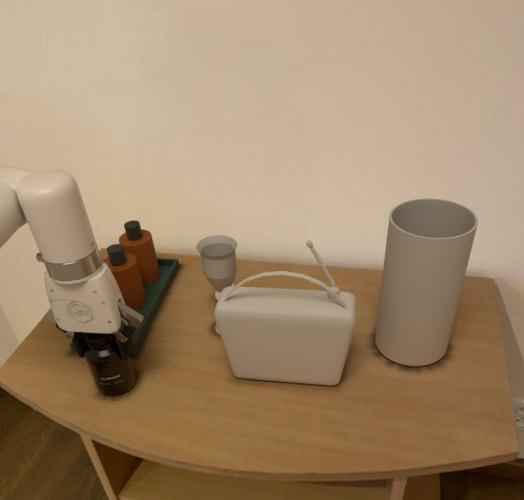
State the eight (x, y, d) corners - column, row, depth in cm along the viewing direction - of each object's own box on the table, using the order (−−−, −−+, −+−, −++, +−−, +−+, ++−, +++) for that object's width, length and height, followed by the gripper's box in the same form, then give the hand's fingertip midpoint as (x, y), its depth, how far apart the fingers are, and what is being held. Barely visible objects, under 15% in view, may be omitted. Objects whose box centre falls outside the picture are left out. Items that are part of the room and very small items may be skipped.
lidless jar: (223, 307, 103) (243, 298, 105) (221, 295, 101) (242, 286, 103) (210, 295, 106) (231, 287, 108) (209, 284, 104) (229, 275, 106)
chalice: (202, 329, 98) (187, 247, 86) (226, 311, 102) (215, 231, 90) (229, 343, 95) (218, 260, 83) (253, 325, 98) (246, 243, 86)
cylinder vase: (382, 317, 98) (397, 194, 81) (449, 329, 94) (480, 203, 77) (368, 360, 89) (382, 232, 72) (442, 375, 85) (474, 244, 69)
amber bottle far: (123, 281, 112) (107, 227, 103) (144, 266, 116) (131, 213, 107) (146, 289, 109) (132, 235, 100) (167, 273, 113) (155, 220, 104)
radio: (352, 356, 90) (362, 229, 73) (350, 390, 84) (360, 260, 67) (232, 347, 94) (215, 225, 77) (222, 379, 88) (201, 254, 71)
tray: (134, 356, 94) (131, 347, 92) (73, 352, 96) (69, 343, 94) (179, 266, 116) (178, 258, 114) (129, 264, 118) (127, 257, 116)
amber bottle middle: (107, 307, 105) (89, 252, 96) (130, 290, 109) (115, 236, 100) (131, 316, 102) (114, 261, 93) (154, 299, 106) (140, 244, 97)
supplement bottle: (112, 403, 85) (91, 350, 77) (89, 385, 89) (67, 332, 81) (144, 381, 89) (128, 328, 81) (122, 364, 92) (104, 312, 84)
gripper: (4, 273, 71) (48, 365, 83) (121, 278, 68) (149, 373, 80) (30, 245, 76) (68, 336, 88) (140, 249, 73) (163, 341, 85)
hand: (106, 353), depth 84 cm, fingers closed on supplement bottle, 6 cm apart
